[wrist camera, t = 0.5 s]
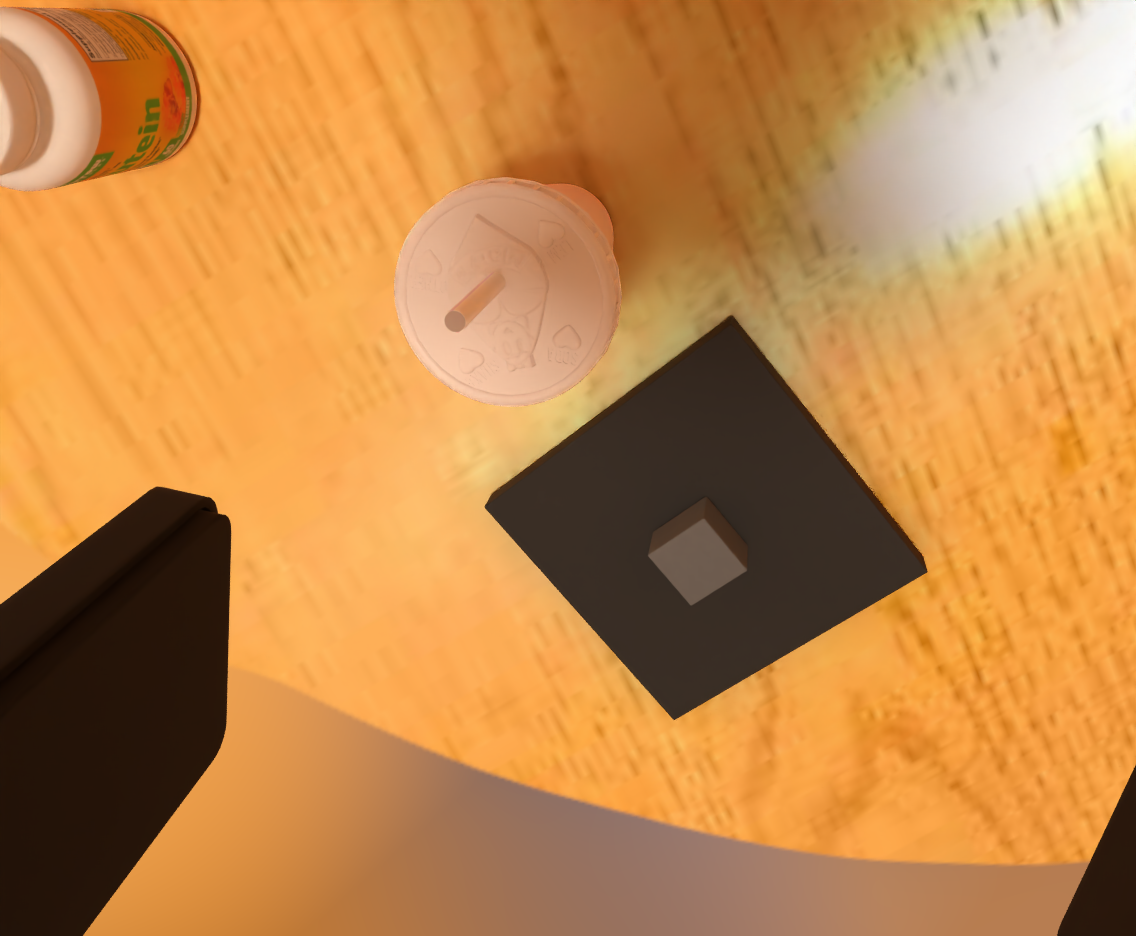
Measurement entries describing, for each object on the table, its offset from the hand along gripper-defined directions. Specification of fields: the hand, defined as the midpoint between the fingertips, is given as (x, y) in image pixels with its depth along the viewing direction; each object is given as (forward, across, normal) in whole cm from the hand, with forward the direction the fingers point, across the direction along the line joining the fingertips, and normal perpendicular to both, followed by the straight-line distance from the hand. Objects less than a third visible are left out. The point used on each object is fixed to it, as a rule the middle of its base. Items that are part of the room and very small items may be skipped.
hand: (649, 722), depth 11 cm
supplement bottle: (+29, +22, -1) cm, 37 cm away
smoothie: (+29, +6, +2) cm, 30 cm away
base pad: (+29, -1, +12) cm, 31 cm away
